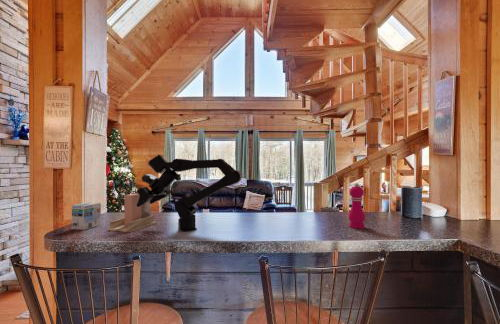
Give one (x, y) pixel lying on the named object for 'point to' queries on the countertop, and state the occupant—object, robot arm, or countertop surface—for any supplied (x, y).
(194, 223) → the robot arm
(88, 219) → the light bulb box
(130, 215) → the salmon pink rectangular block
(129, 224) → the book trough
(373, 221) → the countertop surface
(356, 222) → the pepper mill
